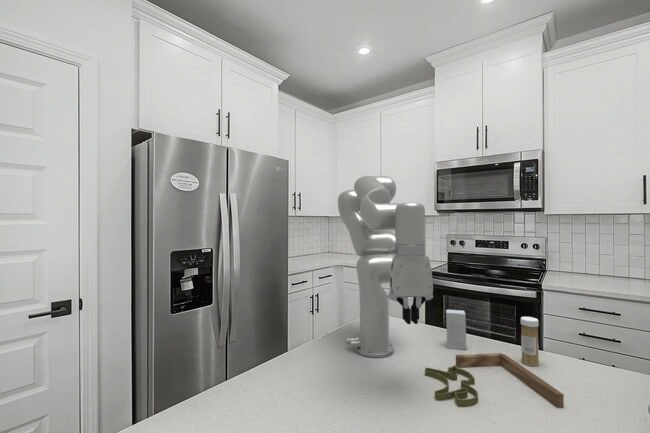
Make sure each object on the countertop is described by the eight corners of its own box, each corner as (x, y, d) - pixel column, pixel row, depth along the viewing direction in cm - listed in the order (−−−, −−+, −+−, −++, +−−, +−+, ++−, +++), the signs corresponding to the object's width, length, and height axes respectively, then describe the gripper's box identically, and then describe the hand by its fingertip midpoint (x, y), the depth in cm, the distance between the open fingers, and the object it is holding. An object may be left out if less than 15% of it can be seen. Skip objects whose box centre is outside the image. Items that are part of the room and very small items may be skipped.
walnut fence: (502, 410, 74) (502, 397, 74) (455, 365, 97) (455, 355, 97) (563, 407, 76) (563, 394, 76) (502, 363, 98) (502, 353, 98)
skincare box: (465, 345, 112) (465, 310, 112) (466, 350, 108) (466, 314, 108) (446, 343, 114) (446, 309, 114) (446, 348, 110) (446, 312, 110)
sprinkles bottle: (541, 364, 97) (541, 318, 97) (534, 368, 95) (534, 321, 95) (525, 358, 101) (525, 315, 101) (518, 362, 99) (517, 317, 99)
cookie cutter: (422, 371, 95) (422, 364, 95) (466, 373, 93) (465, 366, 93) (437, 407, 77) (437, 398, 77) (490, 410, 75) (490, 401, 75)
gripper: (384, 253, 80) (384, 328, 80) (445, 252, 81) (446, 326, 81) (377, 250, 87) (377, 319, 87) (433, 249, 88) (434, 317, 88)
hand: (410, 322), depth 84 cm, fingers closed
